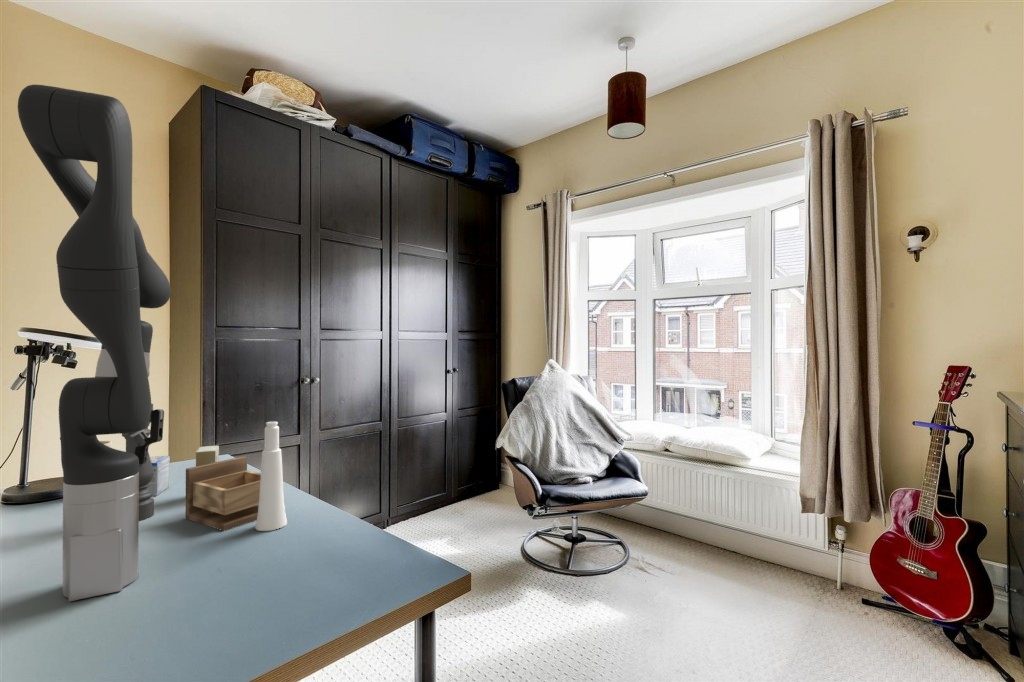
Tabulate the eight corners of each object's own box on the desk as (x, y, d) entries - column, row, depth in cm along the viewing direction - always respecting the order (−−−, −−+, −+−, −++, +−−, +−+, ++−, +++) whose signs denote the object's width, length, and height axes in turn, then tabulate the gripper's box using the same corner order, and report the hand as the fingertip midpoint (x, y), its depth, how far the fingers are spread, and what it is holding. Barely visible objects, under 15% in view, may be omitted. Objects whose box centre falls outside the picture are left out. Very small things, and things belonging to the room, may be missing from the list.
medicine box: (150, 488, 126) (150, 456, 126) (169, 487, 127) (170, 455, 127) (136, 498, 118) (136, 463, 118) (157, 496, 120) (157, 462, 120)
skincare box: (199, 493, 122) (199, 446, 122) (219, 491, 123) (219, 444, 123) (194, 501, 116) (195, 451, 116) (215, 499, 117) (215, 449, 118)
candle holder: (160, 512, 108) (161, 403, 108) (136, 523, 102) (137, 407, 102) (136, 511, 108) (136, 402, 109) (110, 522, 102) (111, 406, 102)
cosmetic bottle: (250, 526, 100) (251, 422, 100) (280, 518, 105) (280, 419, 105) (261, 534, 96) (262, 425, 96) (291, 525, 101) (292, 422, 101)
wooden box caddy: (280, 511, 109) (281, 463, 109) (223, 531, 98) (223, 477, 98) (243, 501, 116) (243, 456, 116) (185, 518, 104) (185, 468, 105)
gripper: (62, 372, 81) (46, 470, 78) (160, 377, 85) (148, 469, 83) (84, 374, 88) (70, 464, 85) (175, 379, 92) (163, 464, 90)
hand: (109, 467), depth 84 cm, fingers open, 8 cm apart
